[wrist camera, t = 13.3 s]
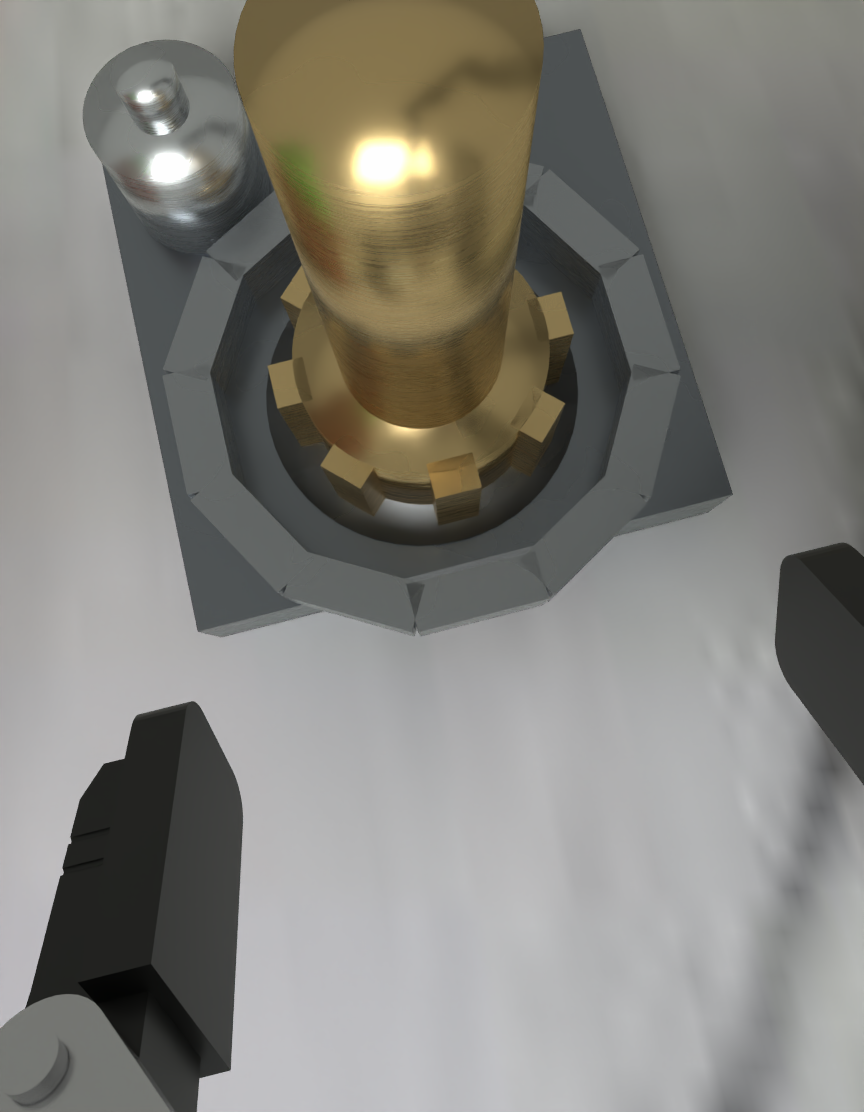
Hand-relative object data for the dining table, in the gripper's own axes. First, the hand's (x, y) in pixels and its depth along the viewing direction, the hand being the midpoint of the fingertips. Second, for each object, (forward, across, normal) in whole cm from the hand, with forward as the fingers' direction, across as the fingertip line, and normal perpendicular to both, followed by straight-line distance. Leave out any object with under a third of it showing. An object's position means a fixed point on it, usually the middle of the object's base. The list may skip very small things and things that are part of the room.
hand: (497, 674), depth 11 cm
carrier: (+12, 0, 0) cm, 12 cm away
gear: (+9, 0, 0) cm, 9 cm away
